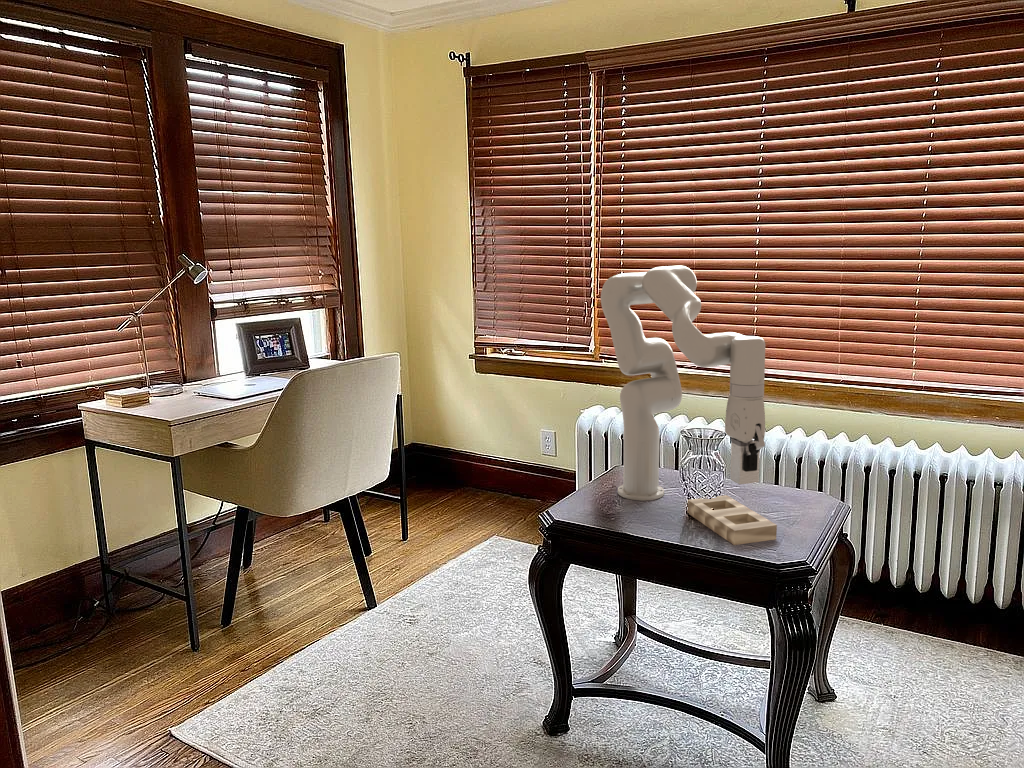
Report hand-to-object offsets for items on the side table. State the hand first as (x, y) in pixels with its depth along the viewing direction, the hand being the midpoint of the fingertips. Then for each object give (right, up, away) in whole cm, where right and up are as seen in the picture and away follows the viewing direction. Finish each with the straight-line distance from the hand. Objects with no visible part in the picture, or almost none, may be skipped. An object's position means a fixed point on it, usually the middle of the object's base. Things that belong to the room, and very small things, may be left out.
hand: (744, 467), depth 186 cm
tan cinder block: (-1, -15, +8) cm, 17 cm away
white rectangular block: (0, -3, +1) cm, 3 cm away
